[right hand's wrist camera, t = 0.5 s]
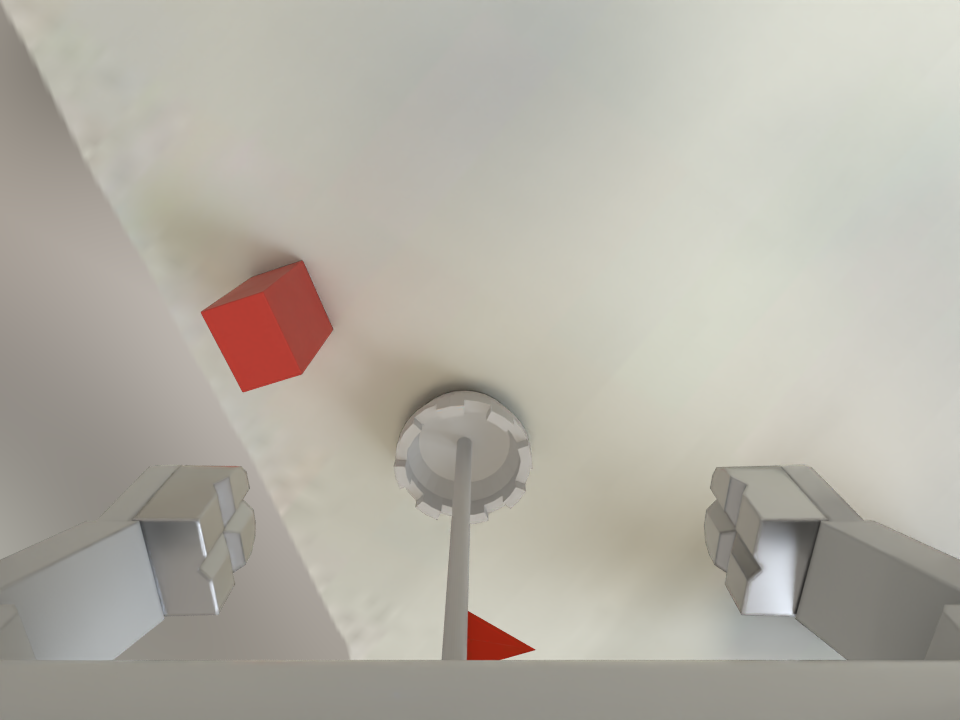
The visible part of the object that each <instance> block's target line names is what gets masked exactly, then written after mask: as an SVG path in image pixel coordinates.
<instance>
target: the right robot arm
mask: <svg viewBox="0 0 960 720" xmlns="http://www.w3.org/2000/svg"><path fill="white" fill-rule="evenodd" d="M249 489H250V486H249V482H248V477H247V472H246V471H245V470H244V469H243V468H242V467H241V466H201V465H185V466H183V465H155V466H151V467H148V468H147V469H146V470H145V471H144V472H143V473H142V474H141V476H139V477H138V479H137V480H136V481H135V482H134V483H133V484H132V485H131V486H130V487H129V488H128V489H127V490H126V491H125V492H124V493H123V494H122V495H121V496H120V497H119V498H118V499H117V500H116V501H115V502H114V503H113V504H112V505H111V506H110V507H109V508H108V509H107V510H106V511H105V512H104V513H103V514H102V515H101V516H100V517H99V518H98V519H97V520H96V521H85V522H83V523H80V524H78V525H76V526H74V527H72V528H69V529H67V530H65V531H63V532H61V533H58V534H56V535H54V536H52V537H49V538H47V539H45V540H43V541H41V542H39V543H36V544H34V545H32V546H30V547H27V548H25V549H23V550H21V551H19V552H16V553H14V554H12V555H10V556H8V557H5V558H3V559H1V560H0V720H960V560H959V559H957V558H954V557H952V556H950V555H948V554H946V553H943V552H941V551H939V550H937V549H935V548H932V547H930V546H928V545H926V544H924V543H921V542H919V541H917V540H915V539H913V538H910V537H908V536H906V535H904V534H902V533H899V532H897V531H895V530H893V529H891V528H888V527H886V526H884V525H882V524H880V523H877V522H875V521H864V520H863V519H862V518H861V517H860V516H859V515H858V514H857V513H856V512H855V511H854V510H853V509H852V508H851V507H850V506H849V505H848V504H847V503H846V502H845V501H844V500H843V499H842V498H841V497H840V496H839V495H838V494H837V493H836V492H835V491H834V490H833V489H832V488H831V487H830V485H829V484H828V483H827V482H826V481H825V480H824V479H823V478H822V477H821V476H820V475H819V474H818V473H817V472H816V471H815V470H814V469H813V468H812V467H809V466H807V465H779V466H746V467H716V469H715V471H714V473H713V475H712V481H711V486H710V489H711V490H712V492H713V494H714V495H715V497H716V498H717V500H716V501H715V502H714V503H713V504H712V505H711V506H710V507H709V508H708V509H707V510H706V516H705V524H704V530H705V542H706V546H707V549H708V552H709V555H710V557H711V559H712V561H713V563H714V565H716V566H717V567H719V568H720V569H722V570H723V571H725V572H726V573H727V575H726V581H725V585H726V587H727V589H728V591H729V593H730V595H731V596H732V598H733V600H734V602H735V604H736V606H737V607H738V609H739V611H740V613H741V615H765V616H796V618H795V619H796V620H798V621H799V622H800V623H801V624H803V625H804V626H805V627H806V628H808V629H809V630H810V631H811V632H813V633H814V634H815V635H816V636H818V637H819V638H820V639H821V640H823V641H824V642H825V643H826V644H828V645H829V646H830V647H832V648H833V649H834V650H835V651H837V652H838V653H839V654H840V655H842V656H843V657H844V658H845V659H847V660H114V659H115V658H116V657H117V656H119V655H120V654H121V653H122V652H124V651H125V650H126V649H127V648H129V647H130V646H131V645H132V644H134V643H135V642H136V641H138V640H139V639H140V638H141V637H142V636H144V635H145V634H146V633H148V632H149V631H150V630H151V629H153V628H154V627H155V626H156V625H158V624H159V623H160V622H161V621H163V620H164V616H194V615H219V613H220V611H221V609H222V607H223V606H224V604H225V602H226V600H227V598H228V596H229V595H230V593H231V591H232V589H233V587H234V585H235V581H234V576H233V573H234V572H235V571H237V570H238V569H240V568H241V567H243V566H244V565H246V563H247V561H248V559H249V557H250V555H251V553H252V549H253V544H254V540H255V529H256V528H255V527H256V522H255V515H254V510H253V509H252V508H251V507H250V506H249V505H248V504H247V503H246V502H245V501H244V500H243V498H244V497H245V495H246V494H247V492H248V490H249Z"/></svg>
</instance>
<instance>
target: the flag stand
mask: <svg viewBox="0 0 960 720" xmlns="http://www.w3.org/2000/svg"><path fill="white" fill-rule="evenodd" d="M530 469H532V455H531V448H530V443H529V440H528V436H527V433H526V431H525V429H524V427H523V426H522V424H521V422H520V421H519V420H518V419H517V418H516V416H515V415H514V414H513V413H512V412H510V411H509V410H508V409H507V408H505V407H504V406H503V405H502V404H501V403H499V402H498V401H497V400H495V399H494V398H492V397H490V396H488V395H485V394H482V393H478V392H473V391H454V392H450V393H446V394H443V395H441V396H439V397H437V398H434V399H433V400H432V401H430V402H429V403H428V404H426V405H424V406H423V407H421V408H420V409H419V410H417V411H416V412H415V413H414V414H413V415H412V416H411V417H410V418H409V420H408V421H407V422H406V424H405V426H404V427H403V429H402V431H401V434H400V437H399V440H398V444H397V448H396V460H395V464H394V471H395V477H396V480H397V483H398V485H399V488H400V489H401V488H404V487H405V488H406V490H407V491H408V492H409V493H410V494H411V496H412V497H413V498H414V499H415V500H416V506H415V508H417V509H418V510H420V511H421V512H422V513H424V514H425V515H428V516H430V517H432V518H434V519H436V520H437V519H438V517H439V515H440V513H441V514H445V515H449V516H452V521H451V535H450V550H449V564H448V578H447V592H446V606H445V620H444V635H443V649H442V660H502V659H505V658H509V657H512V656H516V655H519V654H523V653H526V652H530V651H534V650H535V649H533V648H532V647H530V646H528V645H526V644H525V643H523V642H521V641H519V640H518V639H516V638H514V637H512V636H511V635H509V634H507V633H505V632H504V631H502V630H500V629H498V628H497V627H495V626H493V625H492V624H490V623H488V622H486V621H485V620H483V619H481V618H479V617H478V616H476V615H474V614H472V613H471V612H469V611H468V586H469V545H470V524H476V523H480V522H485V521H488V513H490V512H493V511H495V510H497V509H500V508H501V507H503V506H504V505H506V506H507V507H509V508H510V509H511V508H512V507H513V506H514V505H515V504H516V503H517V502H518V501H519V500H520V499H521V497H522V496H523V494H524V493H525V492H526V488H525V483H526V481H527V478H528V476H529V473H530Z"/></svg>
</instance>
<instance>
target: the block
mask: <svg viewBox="0 0 960 720" xmlns="http://www.w3.org/2000/svg"><path fill="white" fill-rule="evenodd" d="M201 314H202V316H203V318H204V320H205V322H206V323H207V325H208V327H209V329H210V331H211V333H212V335H213V337H214V339H215V341H216V343H217V344H218V346H219V348H220V350H221V352H222V354H223V356H224V358H225V360H226V362H227V363H228V365H229V367H230V369H231V371H232V373H233V375H234V377H235V379H236V381H237V382H238V384H239V386H240V388H241V390H242V392H246V391H249V390H253V389H256V388H259V387H262V386H266V385H269V384H272V383H275V382H279V381H282V380H285V379H288V378H292V377H295V376H298V375H301V374H302V373H303V372H304V371H305V369H306V368H307V366H308V365H309V364H310V362H311V361H312V359H313V358H314V356H315V355H316V354H317V352H318V351H319V349H320V348H321V346H322V345H323V344H324V342H325V341H326V339H327V338H328V336H329V335H330V334H331V332H332V331H333V328H332V326H331V324H330V321H329V319H328V317H327V314H326V312H325V310H324V308H323V305H322V303H321V301H320V299H319V296H318V294H317V292H316V290H315V287H314V285H313V283H312V281H311V278H310V276H309V274H308V271H307V269H306V267H305V265H304V262H303V261H299V262H296V263H293V264H290V265H287V266H284V267H281V268H278V269H275V270H272V271H269V272H266V273H263V274H260V275H257V276H254V277H251V278H250V279H248V280H247V281H245V282H244V283H242V284H241V285H239V286H238V287H237V288H235V289H234V290H232V291H231V292H229V293H228V294H226V295H225V296H223V297H222V298H220V299H219V300H218V301H216V302H215V303H213V304H212V305H210V306H209V307H207V308H206V309H204V310H203V311H201Z"/></svg>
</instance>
